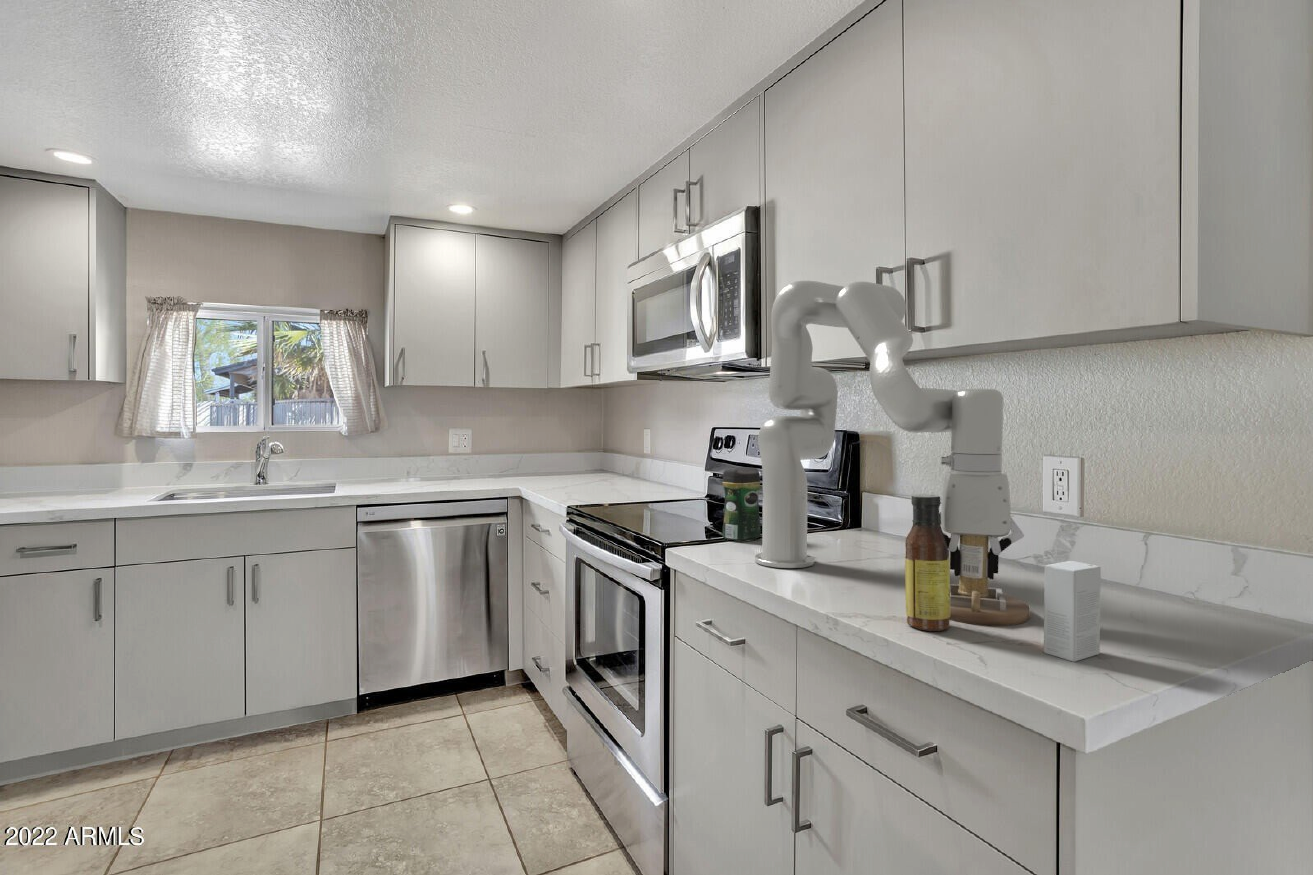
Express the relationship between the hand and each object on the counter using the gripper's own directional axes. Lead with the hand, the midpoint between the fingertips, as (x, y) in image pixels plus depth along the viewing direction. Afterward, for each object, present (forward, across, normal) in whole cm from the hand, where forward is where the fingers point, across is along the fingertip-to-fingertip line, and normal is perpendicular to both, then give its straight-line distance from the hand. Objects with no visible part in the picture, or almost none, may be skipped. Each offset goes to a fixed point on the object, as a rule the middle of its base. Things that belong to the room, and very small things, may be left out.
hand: (973, 574), depth 109 cm
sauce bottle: (+6, -7, -12) cm, 15 cm away
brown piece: (+6, 0, 0) cm, 6 cm away
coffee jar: (+6, -52, +46) cm, 70 cm away
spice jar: (+4, 0, 0) cm, 4 cm away
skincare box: (+6, +11, -17) cm, 21 cm away
